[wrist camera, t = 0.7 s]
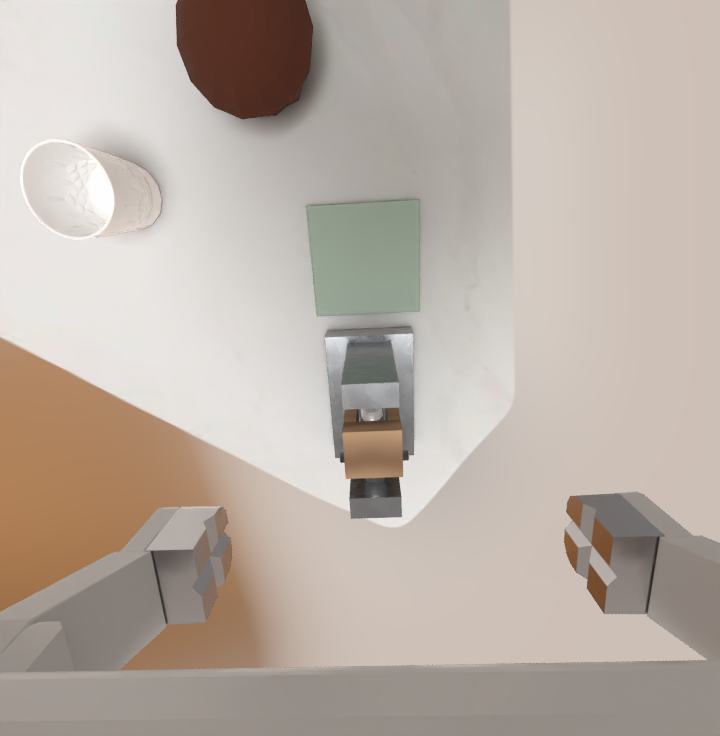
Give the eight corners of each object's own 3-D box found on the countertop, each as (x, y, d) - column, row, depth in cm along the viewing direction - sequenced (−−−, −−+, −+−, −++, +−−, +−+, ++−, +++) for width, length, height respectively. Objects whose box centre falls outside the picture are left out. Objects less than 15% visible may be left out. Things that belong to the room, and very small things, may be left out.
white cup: (85, 210, 44) (9, 209, 35) (107, 140, 42) (32, 117, 32) (153, 248, 45) (98, 256, 36) (178, 182, 43) (126, 172, 34)
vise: (327, 330, 48) (311, 377, 34) (410, 326, 48) (428, 372, 34) (337, 445, 54) (326, 525, 40) (411, 442, 54) (427, 522, 40)
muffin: (206, -23, 37) (151, -104, 27) (326, -4, 37) (312, -77, 28) (206, 125, 41) (159, 98, 32) (314, 141, 41) (299, 119, 32)
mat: (307, 206, 43) (306, 206, 43) (418, 199, 43) (419, 199, 42) (317, 314, 48) (316, 316, 47) (418, 309, 47) (419, 311, 47)
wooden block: (346, 395, 44) (342, 432, 36) (395, 393, 44) (402, 430, 36) (349, 435, 46) (345, 478, 38) (396, 433, 45) (403, 476, 38)
